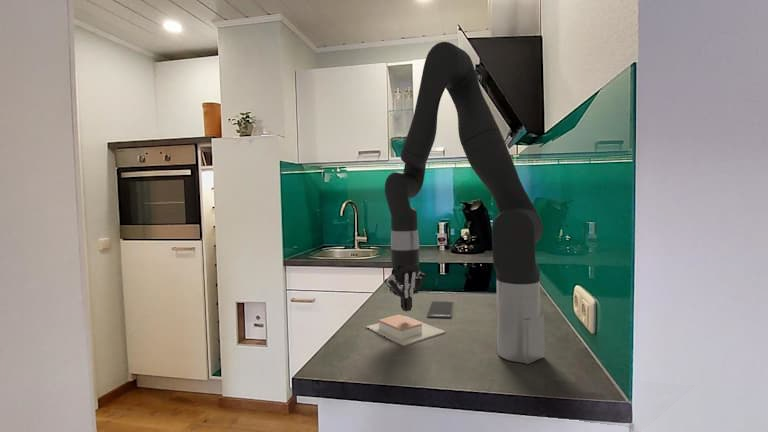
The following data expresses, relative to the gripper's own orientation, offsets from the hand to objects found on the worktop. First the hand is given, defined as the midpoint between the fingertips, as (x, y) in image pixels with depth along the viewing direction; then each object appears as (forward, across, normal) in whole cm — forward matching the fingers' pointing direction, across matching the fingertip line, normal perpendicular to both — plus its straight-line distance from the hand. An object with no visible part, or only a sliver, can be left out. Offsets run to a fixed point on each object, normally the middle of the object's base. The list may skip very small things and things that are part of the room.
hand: (406, 310), depth 108 cm
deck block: (+4, +1, 0) cm, 4 cm away
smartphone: (+6, +20, +8) cm, 22 cm away
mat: (+6, 0, 0) cm, 6 cm away
